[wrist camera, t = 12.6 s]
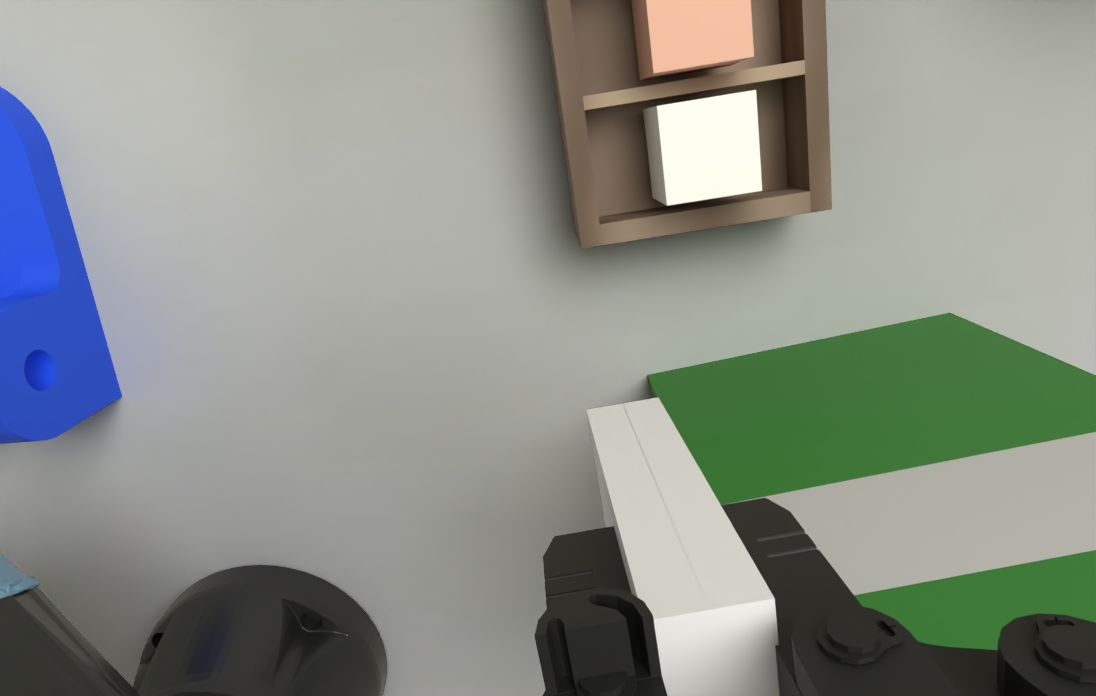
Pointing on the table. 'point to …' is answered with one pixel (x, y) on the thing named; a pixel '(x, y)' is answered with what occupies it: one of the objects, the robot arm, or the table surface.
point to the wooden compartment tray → (619, 99)
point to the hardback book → (913, 467)
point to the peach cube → (691, 35)
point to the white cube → (704, 148)
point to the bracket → (43, 295)
